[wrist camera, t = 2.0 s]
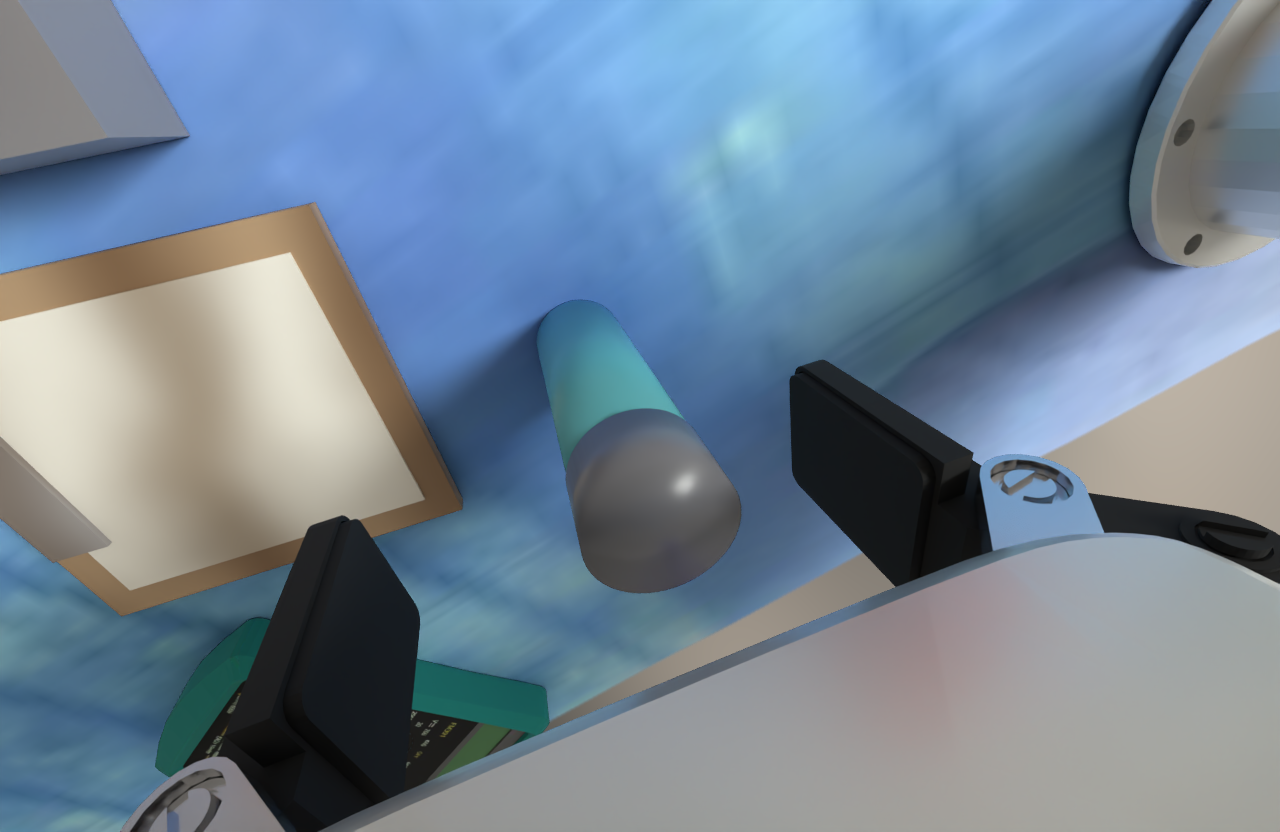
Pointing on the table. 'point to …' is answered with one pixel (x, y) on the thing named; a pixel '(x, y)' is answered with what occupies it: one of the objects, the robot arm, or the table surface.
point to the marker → (630, 458)
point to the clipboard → (202, 409)
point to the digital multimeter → (440, 720)
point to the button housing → (74, 85)
